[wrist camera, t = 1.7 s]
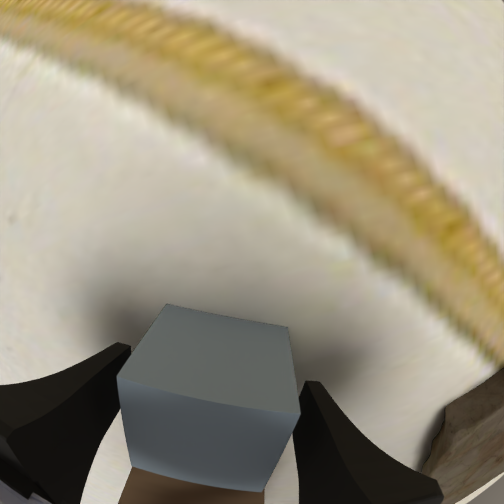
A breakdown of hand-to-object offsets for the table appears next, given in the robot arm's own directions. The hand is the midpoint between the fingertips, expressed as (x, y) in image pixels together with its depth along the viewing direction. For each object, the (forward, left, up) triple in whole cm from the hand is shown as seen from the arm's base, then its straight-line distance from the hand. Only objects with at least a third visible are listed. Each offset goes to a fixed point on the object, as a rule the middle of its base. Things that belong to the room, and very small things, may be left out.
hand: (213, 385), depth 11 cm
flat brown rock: (-21, -10, -2) cm, 23 cm away
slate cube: (0, 0, -2) cm, 2 cm away
